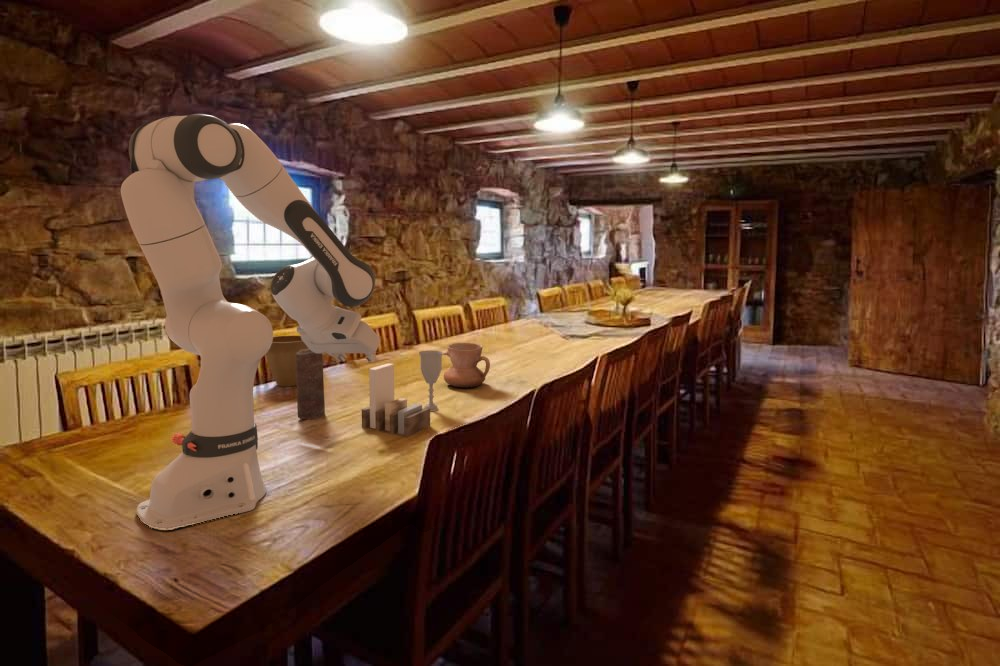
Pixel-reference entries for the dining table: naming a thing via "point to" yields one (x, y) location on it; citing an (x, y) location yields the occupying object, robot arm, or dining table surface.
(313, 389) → the dark stone block
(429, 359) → the chalice
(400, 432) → the offcut
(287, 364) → the plant pot
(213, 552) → the dining table surface
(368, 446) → the dining table surface
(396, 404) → the offcut
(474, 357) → the ceramic jug
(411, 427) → the rack
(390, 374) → the tall board
